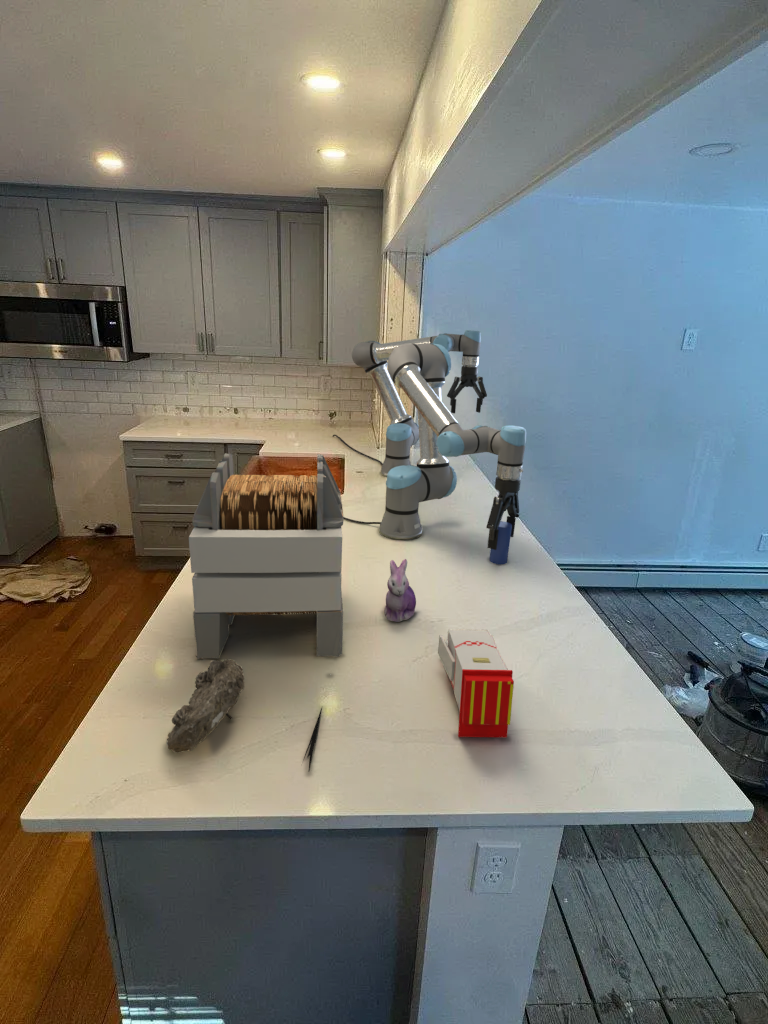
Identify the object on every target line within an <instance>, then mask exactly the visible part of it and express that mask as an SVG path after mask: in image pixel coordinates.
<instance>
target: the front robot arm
mask: <svg viewBox="0 0 768 1024" xmlns="http://www.w3.org/2000/svg"><path fill="white" fill-rule="evenodd" d="M387 362H388V365H387V370H388V372H389V375H390V378H391V379H392V381H393V384H394V386H395V387H396V388H398V389H400V390H401V389H402V391H403V392H404V394H405V395H406V396H407V398H408V399H409V400H410V402H411V403H412V404H413V406H414V407H415V408H416V410H417V425H418V426H419V440H418V441H419V454H420V458H419V459H418V461H416V465H412V464H411V465H407V466H405V465H402V466H397V467H394V468H392V469H391V470H390V471H389V472H388V474H387V477H386V479H385V504H384V505H385V507H384V508H385V509H384V513H383V515H382V519H381V521H361V520H356V519H352V518H348V517H345V516H343V517H344V520H345V521H348V522H352V523H355V524H361V525H379V526H378V533H379V534H380V535H381V536H382V537H385V538H387V539H389V540H395V541H410V540H415V539H418V538H420V537H421V536H422V535H423V525H422V524H421V518H420V515H419V507H420V506H419V505H420V503H422V502H428V501H433V500H434V501H435V500H441V499H444V498H446V497H449V496H451V495H452V494H453V492H454V491H455V489H456V487H457V484H458V483H457V482H458V475H457V472H456V471H455V469H454V467H453V466H451V465H450V460H449V459H448V458H454V457H455V458H457V457H461V456H467V455H468V456H469V455H474V454H482V453H488V454H489V453H490V454H492V455H496V456H497V462H496V471H495V475H496V477H495V479H494V480H495V481H494V489H495V490H496V491H498V495H497V496H493V501H492V502H493V503H492V505H491V510H490V513H489V515H488V519H487V520H488V521H487V523H486V529H488V539H487V549H494V550H496V549H497V541H498V532H499V529H498V526H499V524H500V521H502V519H503V516H504V514H505V513H504V512H506V511H507V516H506V521H505V522H508V523H510V524H512V530H511V538H514V536H515V535H514V534H515V528H516V519H517V518H518V519H519V517H520V501H519V492H520V489H521V482H522V480H521V478H522V473H523V472H524V469H523V466H524V456H525V452H526V451H525V450H526V444H527V430H526V428H525V427H523V426H519V425H503V426H502V427H501V429H497V428H494V427H491V426H488V425H482V424H481V425H480V424H477V425H475V426H474V427H472V428H471V429H470V428H469V429H464V428H463V427H462V426H461V424H460V423H459V422H458V421H457V420H456V418H455V417H454V415H452V414H453V413H451V411H450V410H449V409H448V408H447V407H446V405H445V404H444V403H443V401H442V399H443V398H442V387H443V386H444V385H445V383H446V377H448V376H449V374H450V372H451V370H452V358H451V354H450V353H449V352H448V351H447V350H446V349H445V347H443V346H442V345H439V344H432V343H428V344H402V345H399V346H398V347H396V348H395V349H394V350H393V351H392V353H391V354H390V356H389V359H388V360H387Z"/></svg>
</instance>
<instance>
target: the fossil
mask: <svg viewBox="0 0 768 1024" xmlns="http://www.w3.org/2000/svg"><path fill="white" fill-rule="evenodd" d="M243 670H244V669H243V667H242V665H240V664H237V662H236V661H235V660H234V659H232V658H231V659H227V658H226V659H224V660H223V661H222V660H217V659H212V660H211V661H210V663H209V665H208V666H207V671H201V672H199V673H198V674H197V675H196V676H195V680H194V684H195V685H194V687H195V689H194V690H193V693H192V694H191V697H190V698H189V700H188V704H184V705H182V706H181V707H180V709H177V710H176V711H175V713H174V715H173V716H172V718H171V723H172V724H173V727H172V730H171V731H170V732H168V734H167V738H166V741H167V742H166V745H167V749H168V750H169V751H173V752H174V753H176V754H178V753H182V752H188V751H189V752H192V751H193V750H195V748H196V747H197V746H199V744H200V743H201V742H203V741H204V740H205V739H206V738H207V737H208V736H209V735H210V734H211V733H212V732H214V730H215V729H217V727H218V726H219V724H220V722H221V721H222V720H223V719H224V718H225V716H226V717H227V719H229V720H233V717H232V715H230V714H229V710H230V709H231V708H234V706H235V704H236V703H237V702H238V699H239V697H240V695H241V693H242V691H243V690H245V689H244V688H245V675H244V671H243Z"/></svg>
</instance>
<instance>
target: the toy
mask: <svg viewBox="0 0 768 1024" xmlns="http://www.w3.org/2000/svg"><path fill="white" fill-rule="evenodd" d="M446 640H447V643H446V641H445V639H444V636H443V635H442V634H439V637H438V646H437V656H438V657H439V659H440V661H441V663H442V666H443V668H444V670H445V672H446V674H447V677H448V679H449V681H450V684H451V687H452V690H453V693H454V697H455V701H456V705H457V708H458V711H459V714H458V715H459V716H458V730H457V731H458V732H457V737H458V738H508V731H509V726H510V725H511V717H512V707H513V697H514V696H513V695H514V684H515V680H514V679H513V673H514V671H513V670H512V669H508V667H507V665H506V662H505V661H504V659H503V658H502V655H501V653H500V651H499V649H498V647H497V643H496V639H495V637H494V635H493V634H491V632H490V631H489V629H467V628H466V629H465V628H463V629H461V628H460V629H459V628H448V630H447V639H446Z"/></svg>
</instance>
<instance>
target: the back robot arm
mask: <svg viewBox="0 0 768 1024" xmlns="http://www.w3.org/2000/svg"><path fill="white" fill-rule="evenodd" d="M428 343H432V344H439V345H442V346H443V347H445V349H446V350H447V351H448V353H449V352H459V353H462V356H461V357H462V358H461V365H462V366H461V369H460V377H459V376H454V380H453V382H452V385H451V387H450V388H449V390H448V392H447V394H446V398H447V397H448V398H449V401H450V402H449V405H450V406H451V407H450V413H451V414H456V409H457V399H456V398H457V397H458V395H459V394H460V393H461V392H462V390H463V389H465V388H473V390H474V392H475V393H476V395H477V398H476V405H475V412H476V413H479V414H480V413H481V411H482V406H483V403H484V402H483V401H484V399H485V398H487V397H488V393H487V389H486V387H485V384H484V377H483V376H478V373H479V367H478V366H479V362H480V352H481V344H482V333H481V331H480V330H472V329H471V330H470V329H469V330H467V329H466V330H464V333H463V334H457V333H446V332H445V333H439V334H438V335H433V336H425V337H419V338H411V339H405V340H404V339H403V340H398V341H391V342H390V341H389V342H383V343H380V342H378V341H375V340H367V341H360V342H358V343H357V344H355V345H354V347H353V348H352V350H351V359H352V361H353V363H354V364H355V365H356V366H357V367H360V368H363V370H364V372H365V374H366V375H367V376H370V378H371V380H372V382H373V384H374V387H375V389H376V391H377V393H378V396H379V398H380V400H381V402H382V405H383V406H384V409H385V411H386V414H387V416H388V419H389V420H390V423H389V425H388V426H387V427H386V432H385V457H384V460H383V462H382V461H380V460H379V459H378V458H375V457H372V456H370V455H367V454H365V453H363V452H361V451H359V450H358V449H356V448H353V446H351V445H349V444H348V443H346V442H345V441H344V440H343V438H341V437H340V436H339V435H337V434H332V438H334V437H336V438H337V439H339V440H340V441H341V442H342V443H343V444H344V445H345V446H347V447H348V448H349V449H351V450H352V451H354V452H356V453H358V454H360V455H361V456H363V457H366V458H369V459H370V460H373V461H376V462H378V463H379V464H380V465H381V467H380V475H382V476H384V477H386V478H387V474H388V472H389V471H390V470H391V469H392V468H394V467H397V466H402V465H405V466H407V465H412V463H411V460H410V459H411V457H410V456H411V447H412V446H415V445H416V444H417V443H418V441H419V425H418V423H416V422H415V421H414V419H413V417H412V415H411V414H408V413H407V411H406V409H405V407H404V404H403V402H402V400H401V398H400V395H399V393H398V391H397V387H396V385H395V384H394V382H393V381H392V379H391V378H390V375H389V372H388V359H389V356H390V354H391V353H392V351H393V350H394V349H395V348H396V347H398V346H399V345H402V344H428Z"/></svg>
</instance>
